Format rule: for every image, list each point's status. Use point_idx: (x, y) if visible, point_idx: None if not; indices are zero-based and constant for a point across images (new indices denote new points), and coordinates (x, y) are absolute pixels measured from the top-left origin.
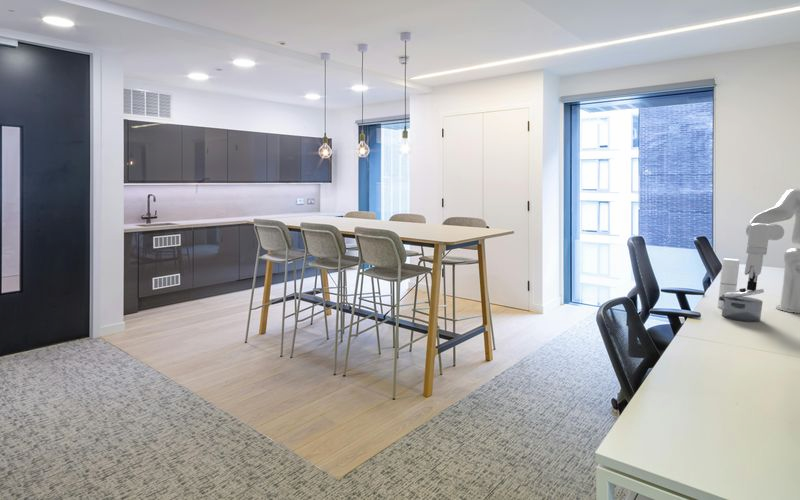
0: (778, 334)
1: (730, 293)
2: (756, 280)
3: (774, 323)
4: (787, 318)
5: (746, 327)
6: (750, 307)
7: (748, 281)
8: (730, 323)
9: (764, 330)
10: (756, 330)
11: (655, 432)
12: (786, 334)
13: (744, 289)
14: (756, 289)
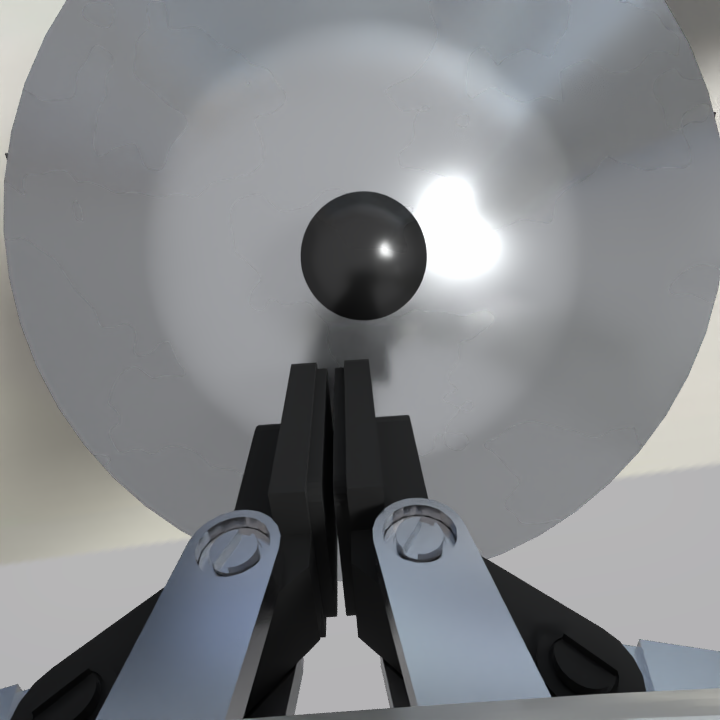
0: (54, 497)
1: (245, 27)
2: (385, 667)
3: None
4: (661, 443)
5: (13, 323)
6: None
7: (270, 502)
8: (3, 188)
9: (68, 425)
10: (2, 392)
11: None
12: (110, 522)
13: (325, 306)
14: (510, 455)
